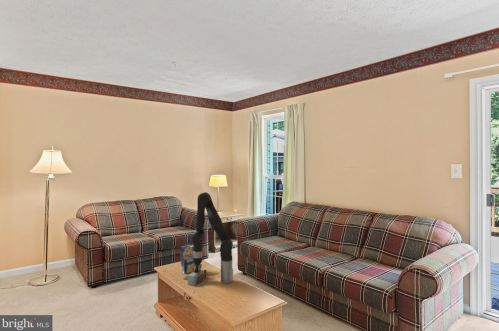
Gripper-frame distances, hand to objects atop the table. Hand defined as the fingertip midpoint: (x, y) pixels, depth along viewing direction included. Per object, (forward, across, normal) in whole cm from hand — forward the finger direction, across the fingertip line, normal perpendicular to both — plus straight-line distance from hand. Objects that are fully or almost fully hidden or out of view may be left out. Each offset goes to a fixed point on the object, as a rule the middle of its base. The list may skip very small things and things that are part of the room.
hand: (197, 277), depth 247 cm
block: (+2, -8, 0) cm, 8 cm away
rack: (+2, 0, 0) cm, 2 cm away
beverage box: (+2, +16, +16) cm, 23 cm away
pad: (+2, +2, +7) cm, 7 cm away
